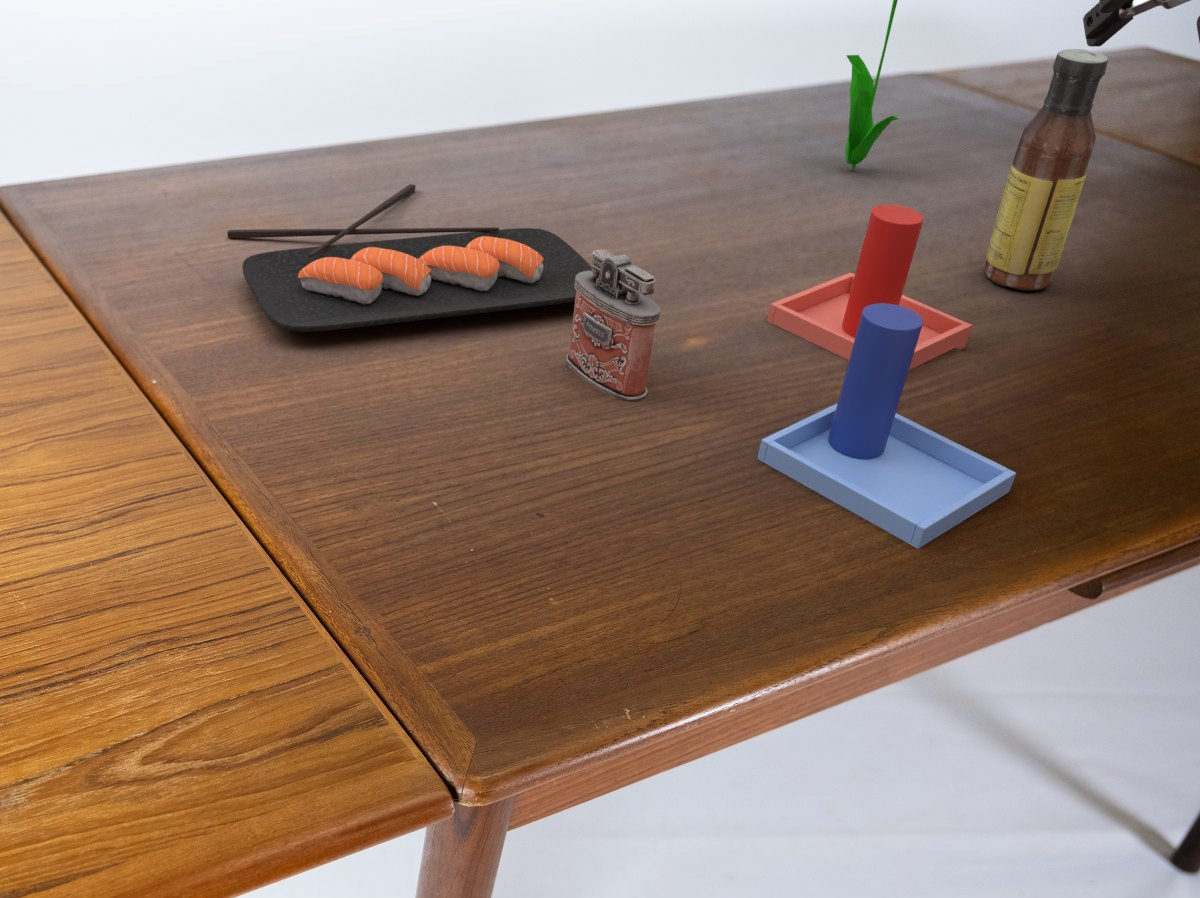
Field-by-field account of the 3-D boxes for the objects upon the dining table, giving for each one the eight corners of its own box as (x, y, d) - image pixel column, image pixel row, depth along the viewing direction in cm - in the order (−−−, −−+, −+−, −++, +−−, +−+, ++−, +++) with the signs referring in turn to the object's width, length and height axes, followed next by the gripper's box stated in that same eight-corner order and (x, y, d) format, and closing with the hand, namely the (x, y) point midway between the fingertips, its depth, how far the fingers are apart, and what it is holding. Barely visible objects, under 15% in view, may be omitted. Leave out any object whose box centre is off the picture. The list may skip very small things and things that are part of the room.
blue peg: (895, 448, 91) (935, 319, 85) (862, 465, 89) (901, 335, 83) (849, 424, 94) (885, 297, 87) (816, 441, 91) (850, 312, 85)
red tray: (965, 347, 106) (972, 324, 105) (887, 385, 100) (894, 361, 99) (844, 294, 113) (850, 272, 112) (765, 326, 107) (770, 303, 106)
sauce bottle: (1045, 271, 120) (1124, 50, 108) (1053, 298, 115) (1137, 70, 103) (974, 261, 121) (1044, 40, 109) (979, 287, 116) (1053, 59, 104)
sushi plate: (276, 354, 98) (275, 308, 95) (196, 206, 119) (193, 166, 117) (616, 313, 107) (622, 270, 105) (485, 183, 129) (487, 145, 126)
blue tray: (1007, 498, 88) (1016, 472, 87) (915, 555, 82) (924, 528, 81) (849, 418, 96) (856, 393, 94) (755, 465, 89) (761, 439, 88)
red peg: (899, 333, 106) (933, 217, 100) (871, 346, 104) (904, 227, 98) (860, 315, 108) (891, 200, 102) (831, 327, 106) (861, 210, 100)
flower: (905, 173, 139) (991, -141, 121) (870, 190, 134) (953, -134, 116) (835, 151, 143) (907, -156, 125) (798, 167, 138) (868, -150, 120)
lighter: (554, 366, 99) (568, 243, 93) (588, 356, 101) (604, 234, 94) (621, 412, 94) (640, 285, 88) (656, 401, 96) (677, 276, 89)
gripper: (1440, -186, 72) (1229, -18, 88) (1219, -194, 70) (1043, -19, 86) (1464, -62, 72) (1247, 85, 87) (1241, -66, 69) (1059, 87, 85)
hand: (1146, 33), depth 87 cm, fingers open, 8 cm apart
